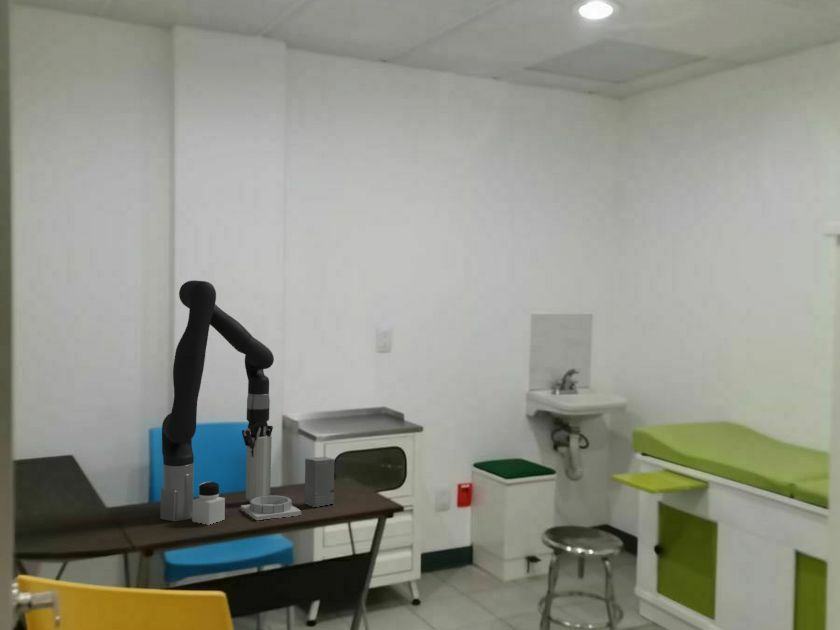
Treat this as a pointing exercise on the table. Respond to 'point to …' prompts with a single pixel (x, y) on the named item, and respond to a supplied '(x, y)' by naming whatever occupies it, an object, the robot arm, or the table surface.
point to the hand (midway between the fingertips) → (257, 457)
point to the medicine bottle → (208, 504)
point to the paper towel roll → (258, 468)
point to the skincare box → (319, 481)
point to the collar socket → (270, 507)
